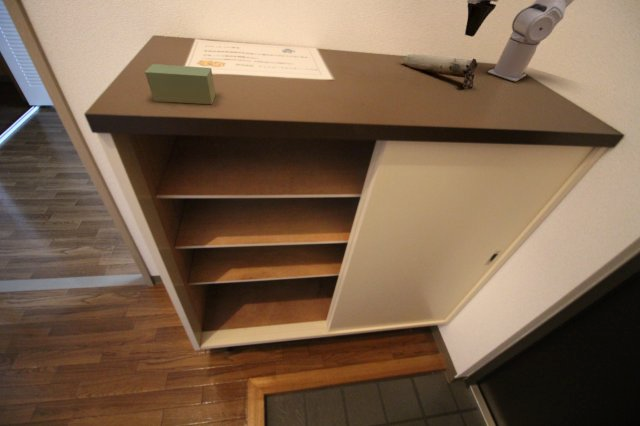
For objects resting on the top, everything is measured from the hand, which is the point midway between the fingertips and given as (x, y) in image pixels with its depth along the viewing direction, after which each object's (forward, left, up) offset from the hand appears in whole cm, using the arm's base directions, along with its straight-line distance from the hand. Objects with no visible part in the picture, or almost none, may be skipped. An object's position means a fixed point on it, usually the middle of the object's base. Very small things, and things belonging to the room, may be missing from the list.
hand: (469, 35), depth 76 cm
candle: (+12, 0, -9) cm, 15 cm away
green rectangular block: (+70, -20, -8) cm, 74 cm away
